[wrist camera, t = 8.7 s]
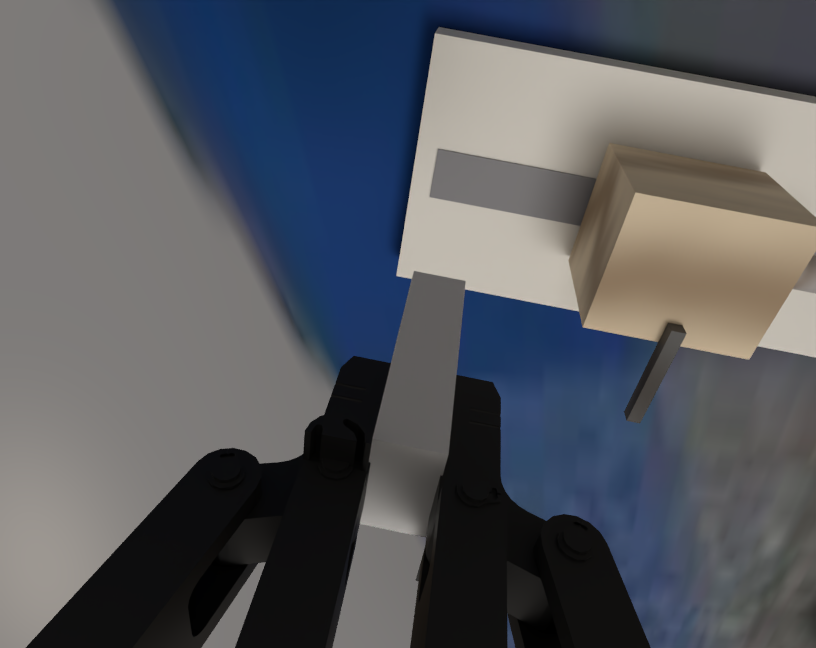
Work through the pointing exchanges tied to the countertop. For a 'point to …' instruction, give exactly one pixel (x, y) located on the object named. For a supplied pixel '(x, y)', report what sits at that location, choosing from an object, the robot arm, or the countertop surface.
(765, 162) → the bench
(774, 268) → the gauge carriage
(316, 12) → the countertop surface
